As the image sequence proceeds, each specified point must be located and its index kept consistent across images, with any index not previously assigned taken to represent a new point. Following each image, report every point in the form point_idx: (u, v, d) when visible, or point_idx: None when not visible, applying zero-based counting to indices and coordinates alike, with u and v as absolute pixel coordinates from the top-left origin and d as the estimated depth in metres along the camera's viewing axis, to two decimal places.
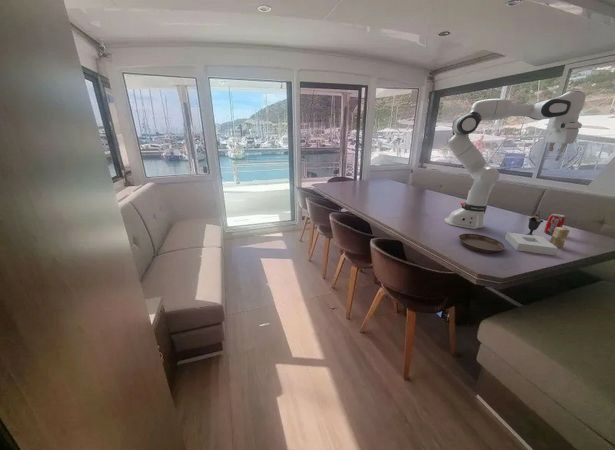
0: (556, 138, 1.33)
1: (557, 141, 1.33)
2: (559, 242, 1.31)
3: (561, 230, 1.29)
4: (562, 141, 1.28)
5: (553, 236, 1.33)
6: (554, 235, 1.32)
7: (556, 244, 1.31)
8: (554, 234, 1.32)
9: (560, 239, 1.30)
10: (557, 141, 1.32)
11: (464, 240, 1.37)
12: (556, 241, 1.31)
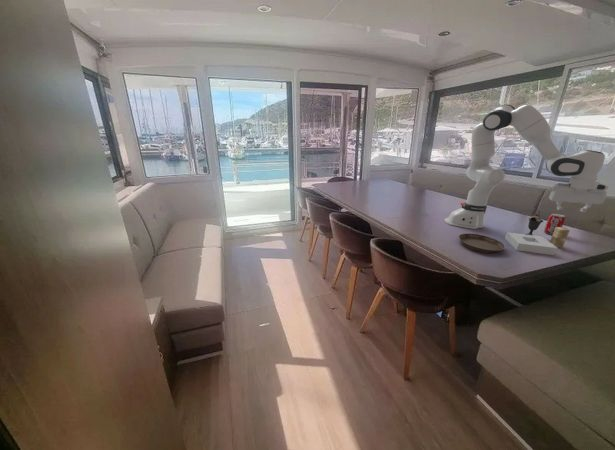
0: (581, 198, 1.22)
1: (584, 201, 1.22)
2: (559, 242, 1.31)
3: (561, 230, 1.29)
4: (596, 202, 1.20)
5: (553, 236, 1.33)
6: (554, 235, 1.32)
7: (556, 244, 1.31)
8: (554, 234, 1.32)
9: (560, 239, 1.30)
10: (585, 202, 1.22)
11: (464, 240, 1.37)
12: (556, 241, 1.31)
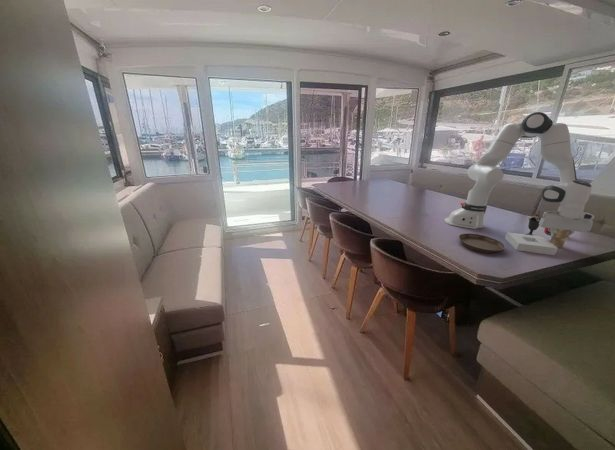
0: (569, 226, 1.27)
1: (572, 229, 1.27)
2: (559, 242, 1.31)
3: (561, 230, 1.29)
4: (583, 230, 1.26)
5: None
6: None
7: (556, 244, 1.31)
8: None
9: (560, 239, 1.30)
10: (573, 229, 1.27)
11: (464, 240, 1.37)
12: (556, 241, 1.31)
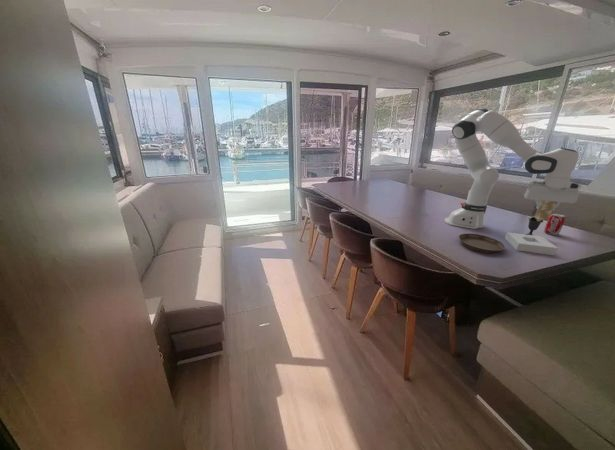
0: (555, 197, 1.20)
1: (557, 200, 1.20)
2: (545, 215, 1.24)
3: (547, 202, 1.22)
4: (569, 201, 1.19)
5: (538, 209, 1.26)
6: None
7: (541, 217, 1.25)
8: None
9: (545, 211, 1.23)
10: (559, 201, 1.20)
11: (464, 240, 1.37)
12: (541, 214, 1.24)
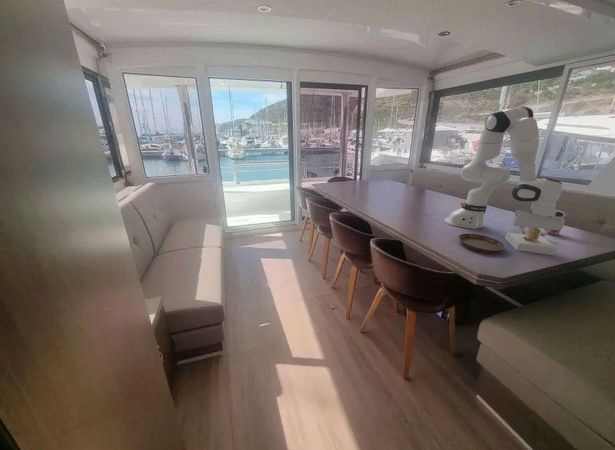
0: (541, 224, 1.25)
1: (544, 227, 1.25)
2: None
3: (532, 231, 1.27)
4: (555, 228, 1.24)
5: (525, 237, 1.32)
6: (526, 235, 1.31)
7: None
8: (526, 235, 1.31)
9: (531, 240, 1.29)
10: (545, 227, 1.25)
11: (464, 240, 1.37)
12: None
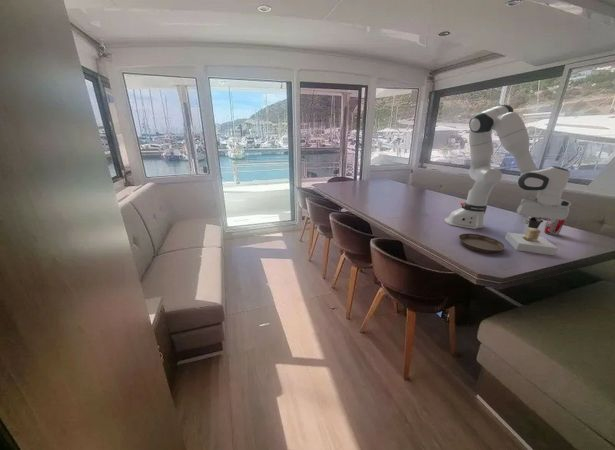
0: (546, 213, 1.24)
1: (549, 216, 1.24)
2: None
3: (532, 231, 1.27)
4: (560, 218, 1.23)
5: (525, 237, 1.32)
6: (526, 235, 1.31)
7: None
8: (526, 235, 1.31)
9: (531, 240, 1.29)
10: (550, 217, 1.24)
11: (464, 240, 1.37)
12: None
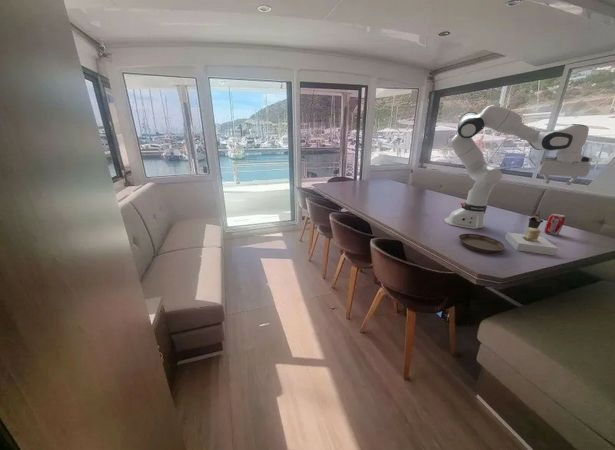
0: (566, 171, 1.28)
1: (569, 174, 1.28)
2: None
3: (532, 231, 1.27)
4: (581, 174, 1.26)
5: (525, 237, 1.32)
6: (526, 235, 1.31)
7: None
8: (526, 235, 1.31)
9: (531, 240, 1.29)
10: (571, 174, 1.28)
11: (464, 240, 1.37)
12: None
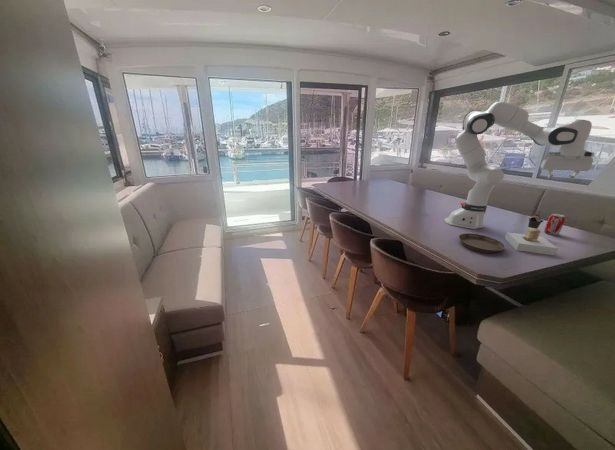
0: (570, 166, 1.31)
1: (572, 169, 1.31)
2: None
3: (532, 231, 1.27)
4: (583, 169, 1.30)
5: (525, 237, 1.32)
6: (526, 235, 1.31)
7: None
8: (526, 235, 1.31)
9: (531, 240, 1.29)
10: (573, 169, 1.31)
11: (464, 240, 1.37)
12: None
